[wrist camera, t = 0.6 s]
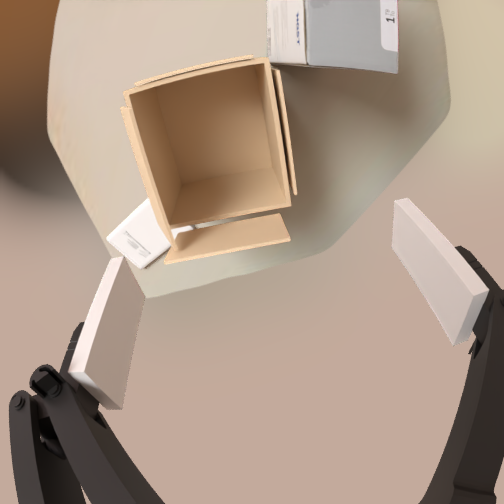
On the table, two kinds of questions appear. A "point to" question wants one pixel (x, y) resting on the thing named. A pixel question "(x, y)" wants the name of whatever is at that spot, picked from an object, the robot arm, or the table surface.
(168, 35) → the table surface
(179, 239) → the flap
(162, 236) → the external hard drive
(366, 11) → the hard drive box
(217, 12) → the table surface
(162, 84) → the carton
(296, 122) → the table surface
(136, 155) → the flap
